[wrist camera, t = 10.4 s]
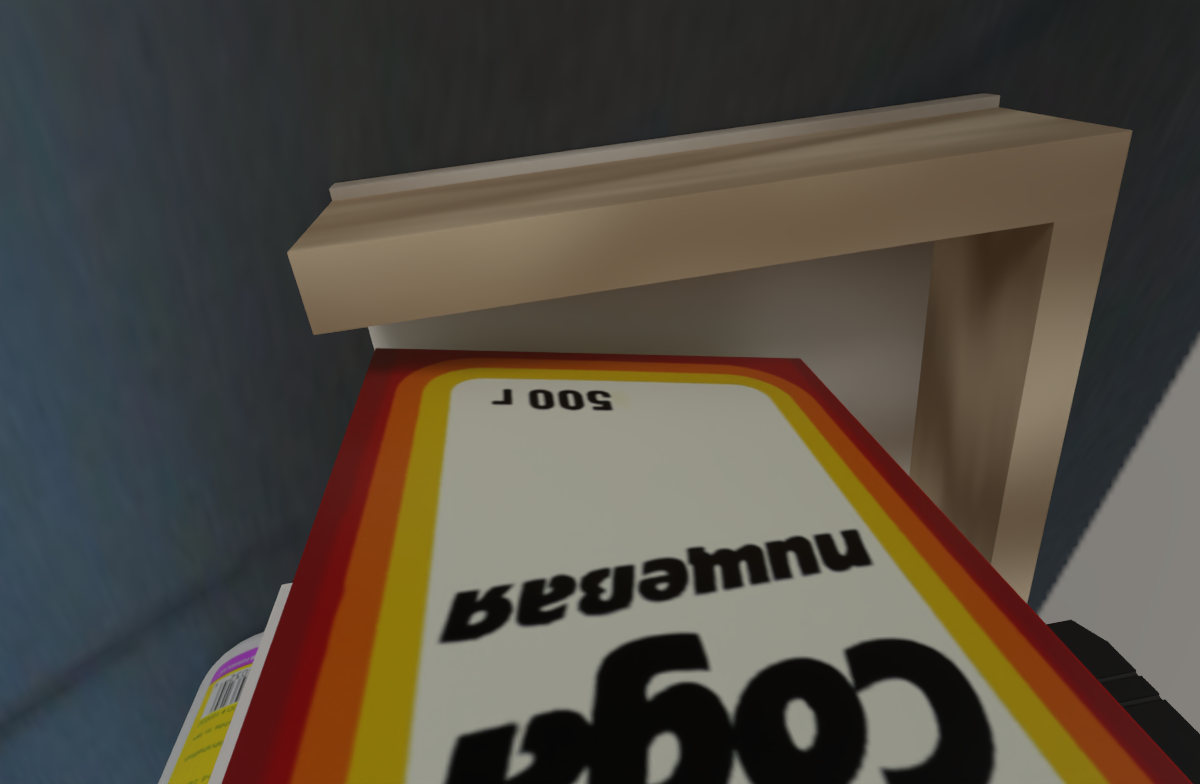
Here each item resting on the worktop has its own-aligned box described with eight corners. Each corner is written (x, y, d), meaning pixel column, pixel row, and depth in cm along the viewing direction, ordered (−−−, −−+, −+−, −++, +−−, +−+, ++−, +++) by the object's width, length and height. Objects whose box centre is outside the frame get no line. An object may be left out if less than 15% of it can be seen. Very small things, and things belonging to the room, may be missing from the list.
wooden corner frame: (334, 183, 16) (282, 238, 12) (984, 92, 17) (1135, 115, 13) (474, 685, 23) (470, 821, 19) (918, 602, 24) (1002, 715, 20)
